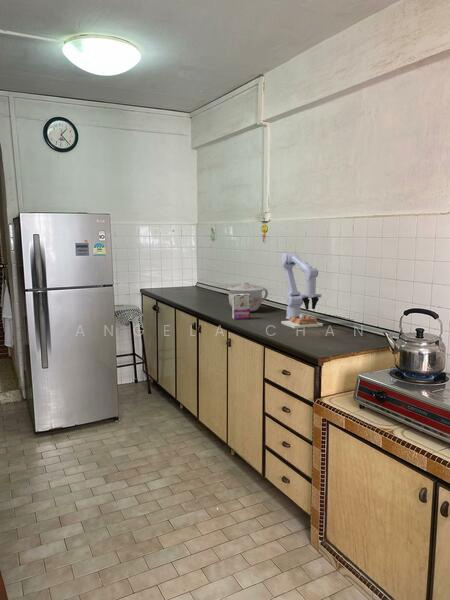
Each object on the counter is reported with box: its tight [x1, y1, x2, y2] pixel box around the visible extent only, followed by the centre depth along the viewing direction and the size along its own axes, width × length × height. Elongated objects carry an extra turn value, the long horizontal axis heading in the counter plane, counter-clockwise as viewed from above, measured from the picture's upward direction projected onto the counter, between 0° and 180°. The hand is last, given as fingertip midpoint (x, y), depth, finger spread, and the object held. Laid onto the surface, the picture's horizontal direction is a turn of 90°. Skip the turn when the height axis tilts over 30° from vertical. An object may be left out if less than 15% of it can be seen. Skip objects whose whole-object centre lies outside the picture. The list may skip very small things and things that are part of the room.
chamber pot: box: [226, 282, 269, 313], centre depth 332 cm, size 28×28×21 cm
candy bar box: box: [231, 294, 251, 321], centre depth 301 cm, size 11×5×16 cm, turn 105°
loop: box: [289, 314, 318, 325], centre depth 283 cm, size 12×12×3 cm
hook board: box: [280, 313, 324, 329], centre depth 283 cm, size 16×20×6 cm
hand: (310, 309), depth 285 cm, fingers open, 4 cm apart
